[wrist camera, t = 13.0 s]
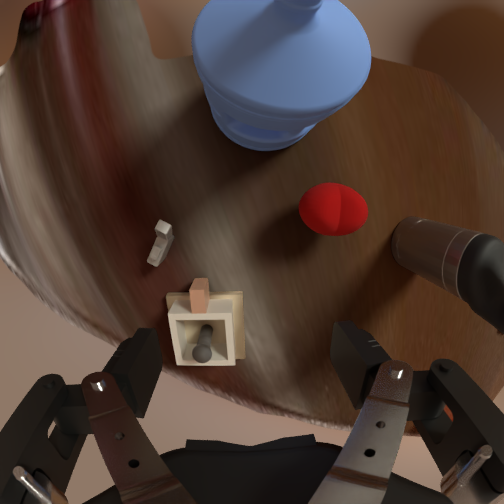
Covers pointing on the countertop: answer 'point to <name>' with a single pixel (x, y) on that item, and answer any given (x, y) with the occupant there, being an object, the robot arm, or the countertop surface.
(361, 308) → the countertop surface
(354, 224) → the red heart
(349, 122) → the countertop surface
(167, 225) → the lighter
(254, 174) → the countertop surface
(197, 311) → the white square frame
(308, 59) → the water jug
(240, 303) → the beige peg base
